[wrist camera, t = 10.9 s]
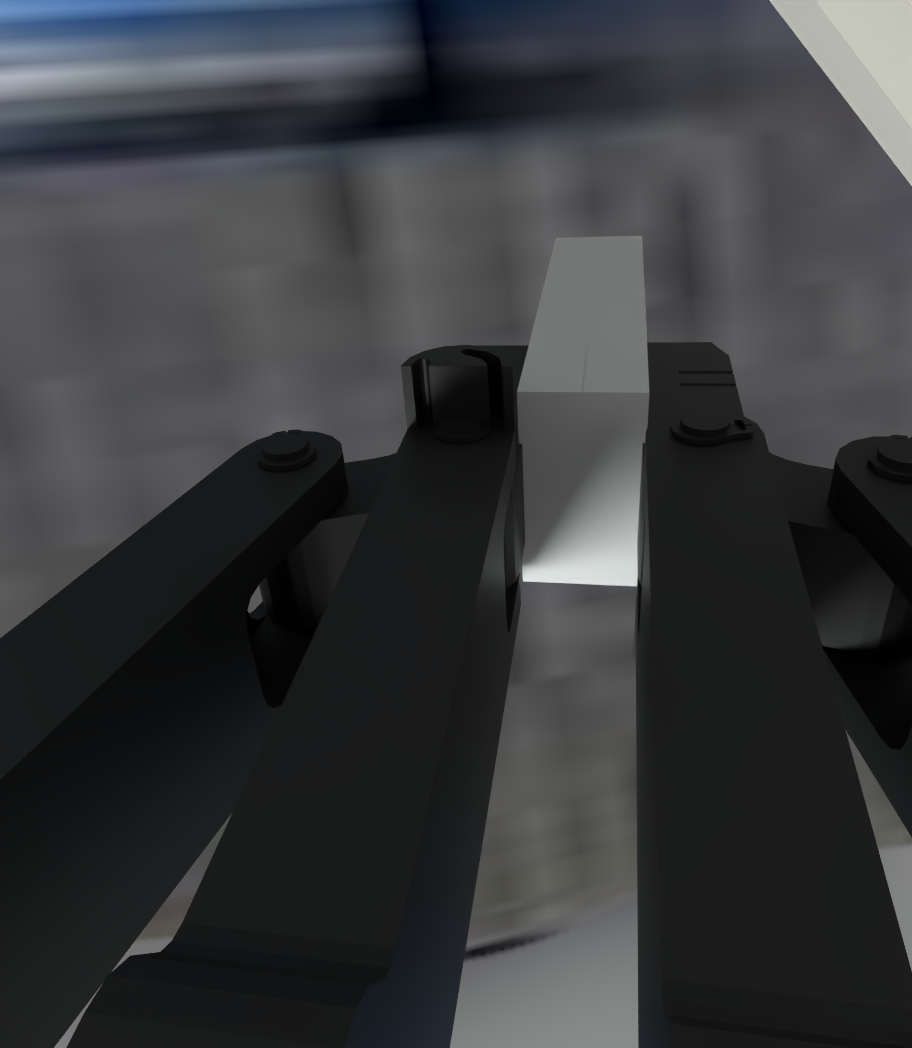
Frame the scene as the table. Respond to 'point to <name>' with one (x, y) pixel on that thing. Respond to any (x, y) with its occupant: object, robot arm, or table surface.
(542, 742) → the table surface
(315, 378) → the table surface
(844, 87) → the panel
